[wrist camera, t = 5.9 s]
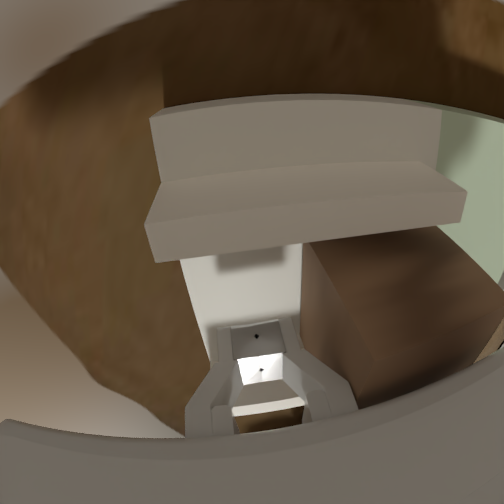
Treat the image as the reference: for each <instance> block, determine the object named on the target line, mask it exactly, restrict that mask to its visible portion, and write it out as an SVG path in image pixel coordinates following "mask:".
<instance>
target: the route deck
mask: <svg viewBox="0 0 504 504" xmlns="http://www.w3.org/2000/svg"><path fill="white" fill-rule="evenodd" d="M149 120H150V126H151V131H152V137H153V143H154V148H155V153H156V158H157V163H158V168H159V173H160V178H161V185H160V187H159V189H158V192H157V194H156V196H155V199H154V201H153V204H152V206H151V209H150V211H149V214H148V216H147V219H146V221H145V224H144V226H145V229H146V233H147V236H148V240H149V243H150V246H151V250H152V253H153V256H154V259H155V262H156V263H159V262H166V261H174V260H180V262H181V266H182V270H183V274H184V277H185V281H186V284H187V288H188V292H189V295H190V299H191V302H192V305H193V309H194V312H195V315H196V319H197V322H198V325H199V328H200V332H201V335H202V338H203V341H204V344H205V347H206V350H207V354H208V357H209V360H210V369H211V368H212V366H213V365H214V363H217V362H218V346H217V328H220V327H229V326H237V325H246V324H252V323H258V322H264V321H270V320H276V319H277V320H278V319H283V318H289V317H291V319H292V321H293V324H294V327H295V331H296V334H297V337H298V341H299V344H300V347H301V350H303V349H304V346H303V343H302V340H301V338H300V335H299V333H300V314H301V293H302V264H303V243H308V242H316V241H323V240H331V239H338V238H346V237H353V236H361V235H368V234H376V233H384V232H391V231H399V230H406V229H414V228H422V227H429V226H437V227H438V228H440V229H441V230H442V231H443V232H444V233H445V234H446V235H448V236H449V237H450V238H451V239H452V240H453V241H454V242H455V243H456V244H457V245H459V246H460V247H461V248H462V249H463V250H464V251H465V252H466V253H467V254H468V255H469V256H470V257H471V258H472V259H473V260H474V261H475V262H476V263H477V264H478V265H479V266H480V267H481V268H482V269H483V270H484V271H485V272H486V273H487V274H488V275H489V276H490V277H491V278H492V279H493V280H494V281H495V282H496V283H497V284H498V285H499V286H500V287H501V289H502V290H503V291H504V119H501V118H497V117H493V116H490V115H486V114H482V113H478V112H474V111H470V110H465V109H461V108H456V107H451V106H446V105H440V104H435V103H429V102H422V101H415V100H408V99H400V98H391V97H380V96H368V95H351V94H278V95H261V96H248V97H237V98H228V99H219V100H211V101H204V102H197V103H191V104H185V105H179V106H173V107H168V108H164V109H162V110H160V111H159V112H157V113H156V114H154V115H153V116H151V117H150V118H149ZM303 405H305V402H304V401H303V400H302V399H301V398H300V397H299V396H298V395H297V394H296V393H295V392H294V391H293V390H292V389H291V388H290V387H289V386H288V385H287V384H286V383H285V382H284V381H283V379H279V380H272V381H265V382H259V383H253V384H247V385H243V388H242V390H241V392H240V394H239V396H238V398H237V400H236V402H235V404H234V406H233V408H232V412H233V415H234V416H241V415H249V414H257V413H264V412H270V411H276V410H282V409H288V408H293V407H298V406H303Z"/></svg>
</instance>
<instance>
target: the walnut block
mask: <svg viewBox="0 0 504 504" xmlns="http://www.w3.org/2000/svg"><path fill="white" fill-rule="evenodd" d="M503 317H504V291H503V290H502V289H501V287H500V286H499V285H498V284H497V283H496V282H495V281H494V280H493V279H492V278H491V277H490V276H489V275H488V274H487V273H486V272H485V271H484V270H483V269H482V268H481V267H480V266H479V265H478V264H477V263H476V262H475V261H474V260H473V259H472V258H471V257H470V256H469V255H468V254H467V253H466V252H465V251H464V250H463V249H462V248H461V247H460V246H459V245H457V244H456V243H455V242H454V241H453V240H452V239H451V238H450V237H449V236H448V235H446V234H445V233H444V232H443V231H442V230H441V229H440V228H438V227H437V226H429V227H422V228H414V229H406V230H399V231H391V232H384V233H376V234H368V235H361V236H353V237H346V238H338V239H331V240H323V241H316V242H308V243H303V264H302V293H301V314H300V333H299V335H300V338H301V340H302V343H303V346H304V349H305V350H307V351H308V352H309V353H311V354H312V355H313V356H315V357H316V358H317V359H319V360H320V361H321V362H322V363H324V364H325V365H326V366H328V367H329V368H330V369H332V370H333V371H334V372H336V373H337V374H339V375H340V376H341V377H343V378H344V379H345V380H347V381H348V382H349V385H350V387H351V390H352V393H353V395H354V398H355V401H356V404H357V406H358V409H359V410H360V409H363V408H367V407H370V406H373V405H376V404H379V403H382V402H385V401H388V400H391V399H394V398H397V397H399V396H402V395H405V394H407V393H410V392H412V391H415V390H417V389H420V388H422V387H425V386H427V385H430V384H432V383H434V382H436V381H439V380H441V379H443V378H445V377H448V376H450V375H452V374H454V373H456V372H458V371H460V370H462V369H464V368H466V367H468V366H470V365H472V364H473V363H474V361H475V360H476V359H477V357H478V356H479V354H480V353H481V352H482V350H483V349H484V347H485V346H486V344H487V343H488V341H489V340H490V338H491V337H492V335H493V334H494V332H495V330H496V329H497V327H498V326H499V324H500V322H501V321H502V319H503Z"/></svg>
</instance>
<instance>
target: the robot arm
mask: <svg viewBox="0 0 504 504" xmlns="http://www.w3.org/2000/svg"><path fill="white" fill-rule="evenodd" d="M217 346H218V362H217V363H214V365H213V366H212V368H211V369H210V371H209V372H208V374H207V375H206V377H205V378H204V380H203V381H202V383H201V384H200V386H199V387H198V389H197V390H196V392H195V393H194V395H193V396H192V398H191V399H190V401H189V402H188V404H187V405H186V407H185V438H168V439H167V438H164V439H163V438H162V439H161V438H155V439H154V438H128V437H112V436H102V435H92V434H84V433H76V432H70V431H63V430H57V429H52V428H47V427H42V426H37V425H32V424H28V423H24V422H20V421H16V420H12V419H5V420H4V421H2V422H1V423H0V504H504V344H503V345H502V346H501V348H500V349H499V350H497V351H496V352H494V353H492V354H490V355H489V356H487V357H485V358H483V359H481V360H480V361H478V362H476V363H474V364H472V365H470V366H468V367H466V368H464V369H462V370H460V371H458V372H456V373H454V374H452V375H450V376H448V377H445V378H443V379H441V380H439V381H436V382H434V383H432V384H430V385H427V386H425V387H422V388H420V389H417V390H415V391H412V392H410V393H407V394H405V395H402V396H399V397H397V398H394V399H391V400H388V401H385V402H382V403H379V404H376V405H373V406H370V407H367V408H363V409H360V410H359V409H358V406H357V404H356V401H355V398H354V395H353V393H352V390H351V387H350V385H349V382H348V381H347V380H345V379H344V378H343V377H341V376H340V375H339V374H337V373H336V372H334V371H333V370H332V369H330V368H329V367H328V366H326V365H325V364H324V363H322V362H321V361H320V360H319V359H317V358H316V357H315V356H313V355H312V354H311V353H309V352H308V351H307V350H305V349H303V350H301V347H300V344H299V341H298V337H297V334H296V331H295V327H294V324H293V321H292V319H291V317H289V318H283V319H278V320H277V319H276V320H270V321H264V322H258V323H252V324H246V325H237V326H229V327H220V328H217ZM279 379H283V381H284V382H285V383H286V384H287V385H288V386H289V387H290V388H291V389H292V390H293V391H294V392H295V393H296V394H297V395H298V396H299V397H300V398H301V399H302V400H303V401H304V402H305V405H304V411H303V417H302V424H300V425H295V426H290V427H284V428H279V429H273V430H266V431H260V432H252V433H244V434H240V433H239V429H238V426H237V423H236V420H235V418H234V415H233V412H232V408H233V406H234V404H235V402H236V400H237V398H238V396H239V394H240V392H241V390H242V388H243V385H247V384H253V383H259V382H265V381H272V380H279Z"/></svg>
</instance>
